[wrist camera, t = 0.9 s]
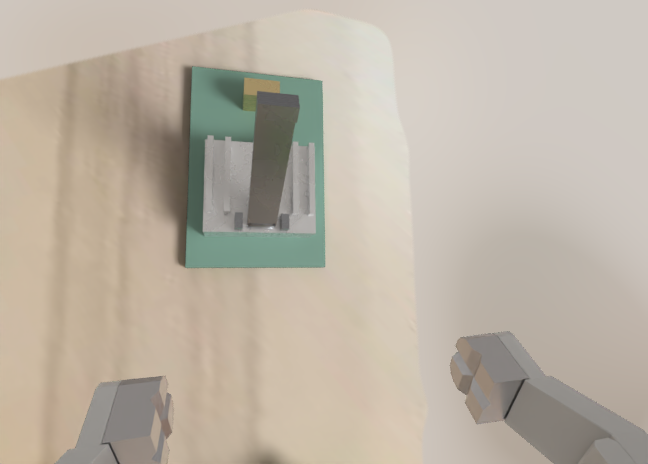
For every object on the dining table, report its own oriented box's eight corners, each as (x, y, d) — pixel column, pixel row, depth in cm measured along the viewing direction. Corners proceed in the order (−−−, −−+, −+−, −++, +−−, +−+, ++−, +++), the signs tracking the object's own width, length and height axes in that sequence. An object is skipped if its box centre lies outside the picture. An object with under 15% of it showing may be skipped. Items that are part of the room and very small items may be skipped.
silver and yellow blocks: (308, 237, 47) (319, 231, 41) (205, 236, 44) (201, 229, 39) (307, 101, 49) (317, 77, 44) (209, 91, 47) (206, 65, 41)
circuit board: (323, 267, 48) (325, 266, 47) (186, 268, 44) (185, 267, 43) (320, 85, 51) (322, 80, 50) (193, 71, 48) (192, 66, 47)
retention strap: (275, 221, 42) (275, 232, 41) (247, 220, 41) (247, 232, 41) (298, 94, 29) (299, 107, 28) (257, 90, 28) (257, 103, 27)
